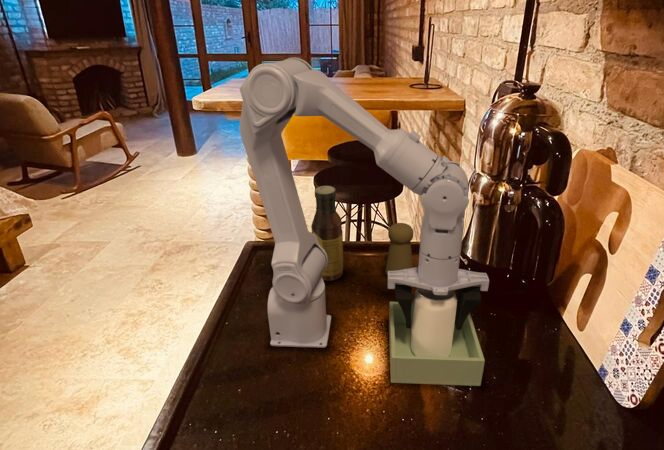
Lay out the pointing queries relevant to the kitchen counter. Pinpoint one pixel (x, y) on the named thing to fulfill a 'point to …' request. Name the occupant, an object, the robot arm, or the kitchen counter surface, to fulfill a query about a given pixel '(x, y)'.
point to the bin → (451, 370)
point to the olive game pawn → (399, 247)
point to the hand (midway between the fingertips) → (432, 324)
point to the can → (433, 323)
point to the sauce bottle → (329, 231)
